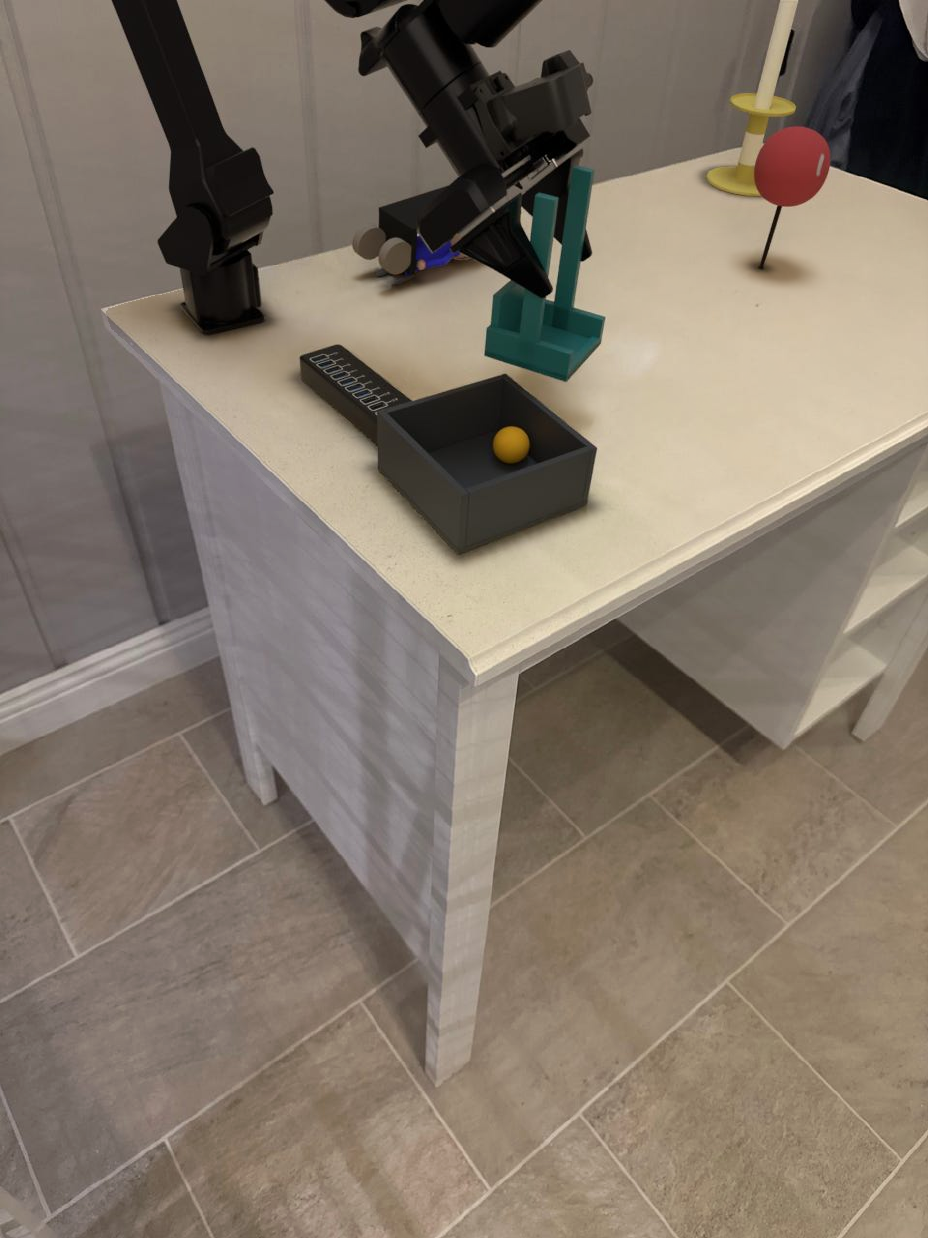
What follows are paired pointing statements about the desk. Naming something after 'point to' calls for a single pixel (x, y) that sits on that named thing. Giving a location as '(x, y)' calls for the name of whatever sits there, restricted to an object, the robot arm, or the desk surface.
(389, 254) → the figurine character
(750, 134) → the candle
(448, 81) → the robot arm
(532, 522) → the bin
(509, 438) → the toy ball
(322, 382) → the multiport hub
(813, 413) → the desk surface
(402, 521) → the desk surface
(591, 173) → the tray with tall posts
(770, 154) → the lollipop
